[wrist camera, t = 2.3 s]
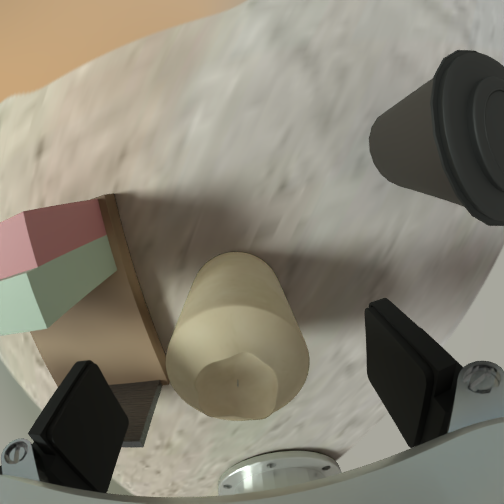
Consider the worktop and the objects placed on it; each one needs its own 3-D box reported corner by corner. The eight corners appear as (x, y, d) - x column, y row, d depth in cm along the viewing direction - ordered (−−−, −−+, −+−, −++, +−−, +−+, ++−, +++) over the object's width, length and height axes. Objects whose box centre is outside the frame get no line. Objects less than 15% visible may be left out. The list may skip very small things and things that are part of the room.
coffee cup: (434, 92, 17) (532, 60, 7) (452, 199, 19) (557, 218, 9) (337, 91, 17) (422, 25, 7) (360, 215, 18) (463, 248, 9)
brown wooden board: (172, 372, 20) (168, 384, 19) (68, 382, 20) (61, 392, 19) (113, 193, 17) (104, 194, 16) (9, 233, 17) (-3, 237, 16)
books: (117, 270, 17) (47, 328, 9) (19, 295, 17) (-51, 342, 9) (97, 198, 16) (10, 214, 8) (1, 237, 16) (-78, 265, 8)
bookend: (162, 385, 19) (143, 447, 13) (65, 391, 19) (33, 439, 13) (159, 379, 19) (139, 441, 13) (62, 387, 19) (29, 433, 13)
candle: (296, 298, 19) (346, 395, 10) (230, 346, 20) (229, 460, 10) (243, 232, 18) (252, 287, 9) (175, 286, 19) (126, 379, 9)
